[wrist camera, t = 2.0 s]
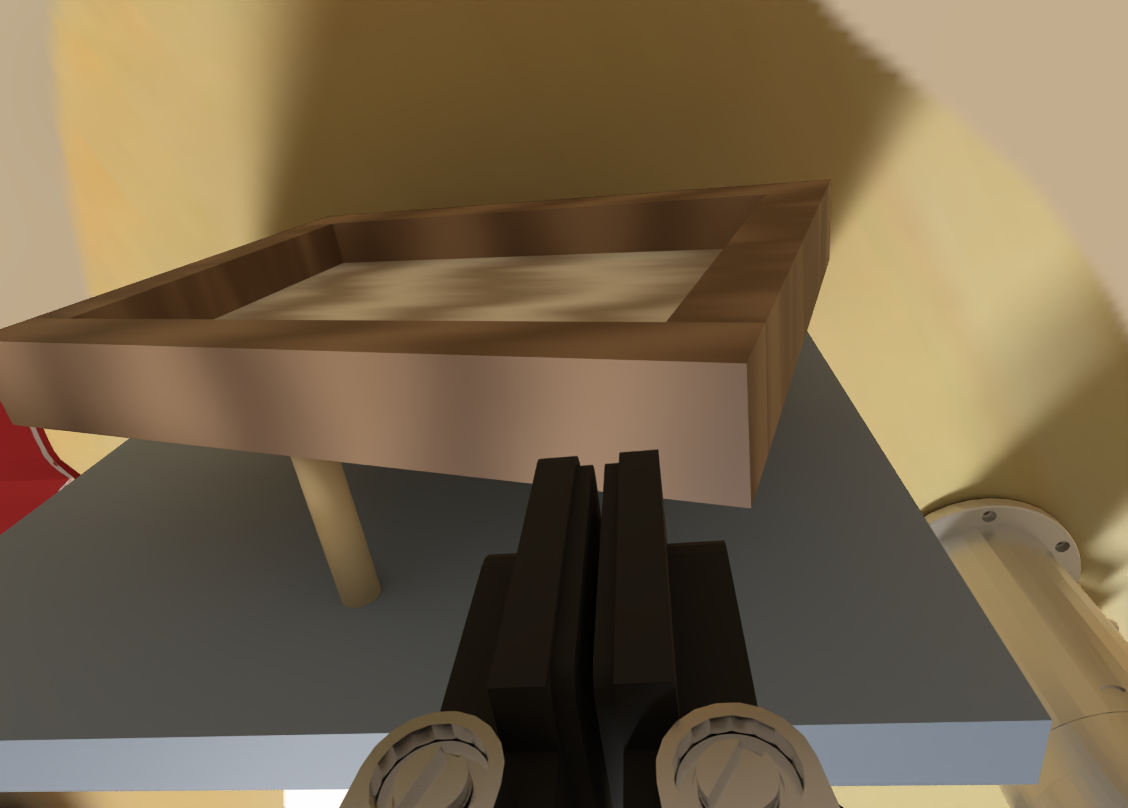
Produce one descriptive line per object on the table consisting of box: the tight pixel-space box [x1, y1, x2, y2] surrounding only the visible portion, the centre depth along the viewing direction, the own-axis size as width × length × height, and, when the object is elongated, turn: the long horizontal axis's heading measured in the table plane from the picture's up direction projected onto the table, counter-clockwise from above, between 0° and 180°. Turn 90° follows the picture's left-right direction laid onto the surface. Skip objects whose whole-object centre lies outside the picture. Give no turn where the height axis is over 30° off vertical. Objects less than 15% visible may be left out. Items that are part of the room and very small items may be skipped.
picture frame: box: [0, 180, 831, 508], centre depth 24 cm, size 24×3×17 cm, turn 98°
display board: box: [0, 332, 1052, 792], centre depth 30 cm, size 34×7×30 cm, turn 98°
